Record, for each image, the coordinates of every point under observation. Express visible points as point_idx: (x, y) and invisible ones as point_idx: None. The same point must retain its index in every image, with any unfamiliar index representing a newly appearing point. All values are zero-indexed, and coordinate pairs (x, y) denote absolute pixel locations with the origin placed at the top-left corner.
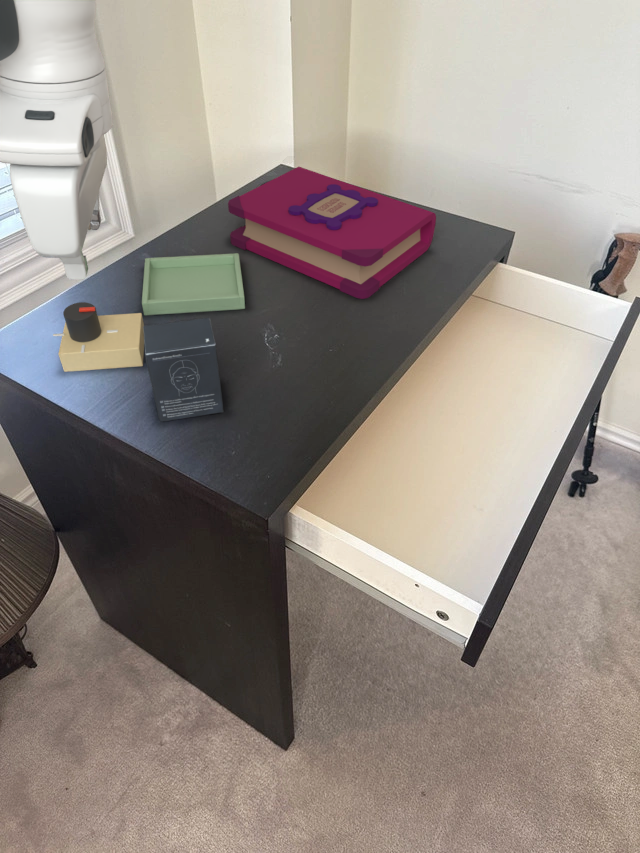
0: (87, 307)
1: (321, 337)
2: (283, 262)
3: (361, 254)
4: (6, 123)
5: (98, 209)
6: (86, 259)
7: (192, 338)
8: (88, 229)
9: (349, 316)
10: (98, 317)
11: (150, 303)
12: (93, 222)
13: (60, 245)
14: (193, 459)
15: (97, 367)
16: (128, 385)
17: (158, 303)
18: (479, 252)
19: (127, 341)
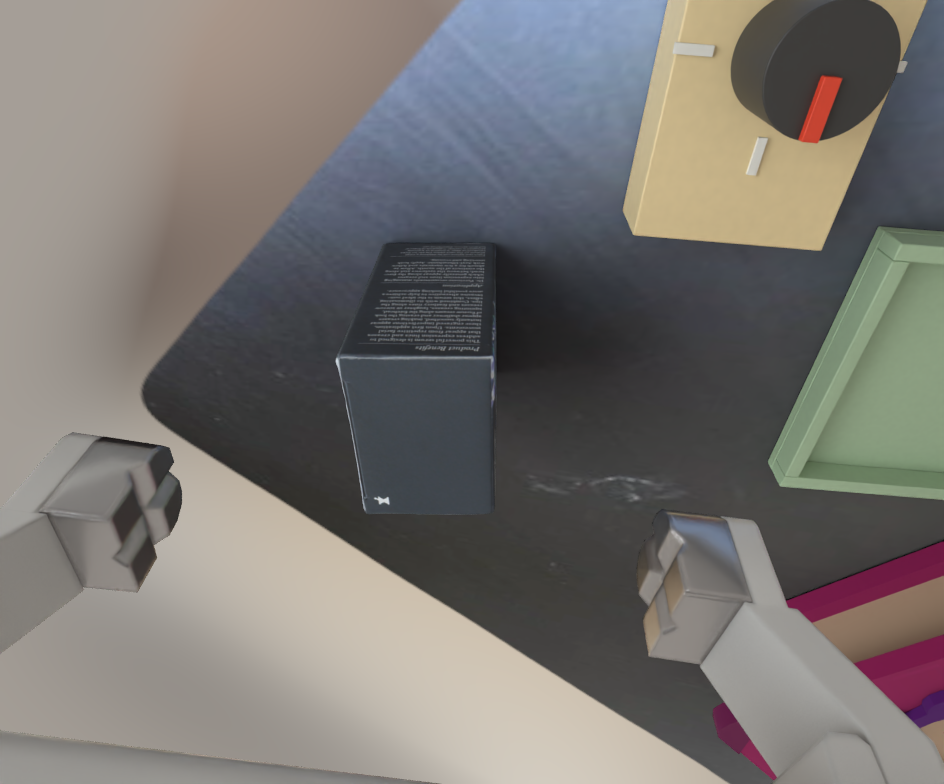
0: (827, 113)
1: (598, 560)
2: (907, 562)
3: (735, 727)
4: None
5: (705, 671)
6: (147, 570)
7: (395, 472)
8: (652, 524)
9: None
10: None
11: (887, 268)
12: (653, 586)
13: None
14: (260, 301)
15: (654, 74)
16: (549, 167)
17: (874, 290)
18: (748, 778)
19: (680, 203)
